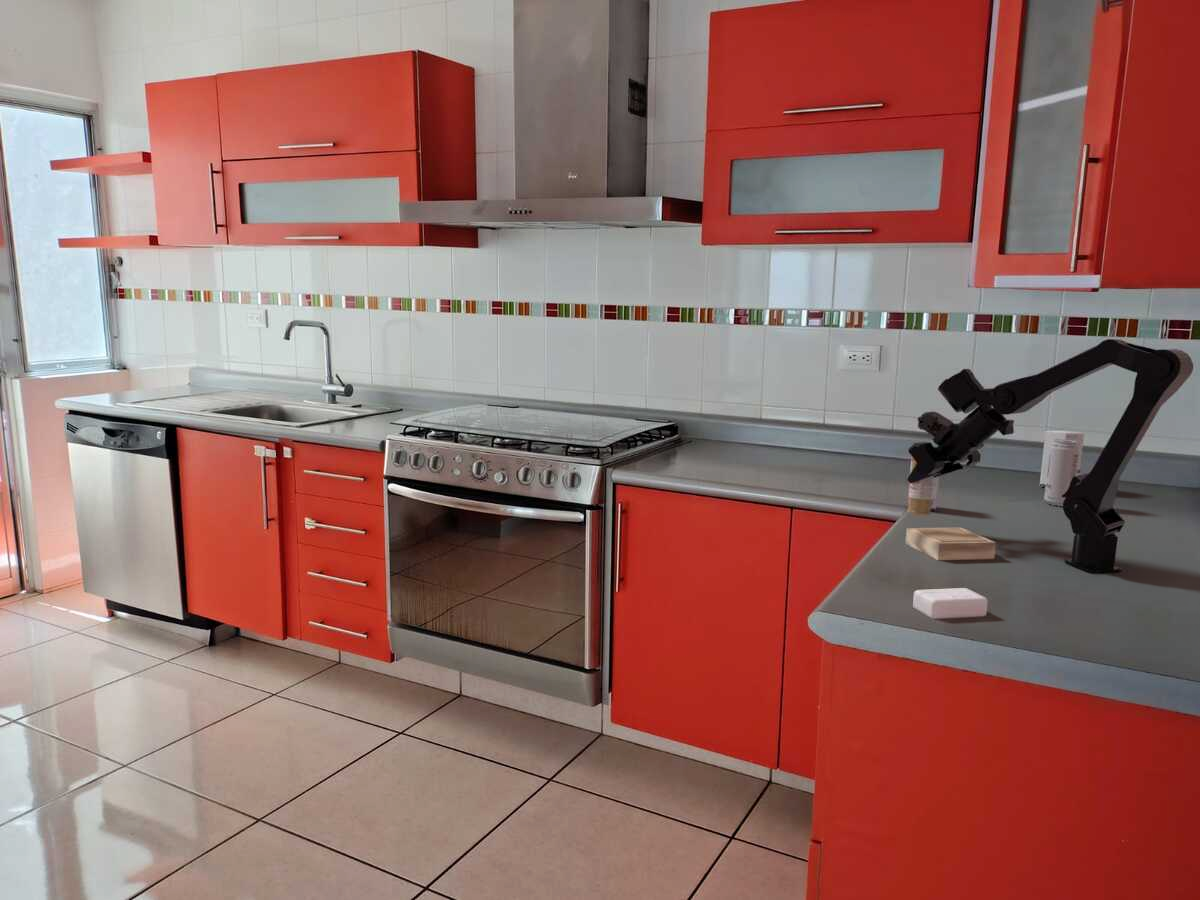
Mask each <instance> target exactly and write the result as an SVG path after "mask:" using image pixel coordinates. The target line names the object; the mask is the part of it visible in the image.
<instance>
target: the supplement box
mask: <svg viewBox="0 0 1200 900" xmlns="http://www.w3.org/2000/svg"><path fill="white" fill-rule="evenodd" d="M911 467H912V456H911V457H910V470H909V475H910V474H911V469H912V468H911ZM939 480H940V476H938V477H935V478H933V490H932V499H931V508H930V511H931V512H937V507H938V506H937V505H938V494H939V493H938V492H939V483H940V481H939ZM909 489H910V483H908V490H909ZM908 504H909V492H908V496H907V505H908Z"/></svg>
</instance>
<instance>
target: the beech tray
mask: <svg viewBox="0 0 1200 900" xmlns="http://www.w3.org/2000/svg"><path fill="white" fill-rule="evenodd" d="M904 544H905V545H907V546H908V547H911V548H913V549H915V550H917V551H918V552H921V553H923V554H925V555H927V556H928V557H931V558H932V557H933V559H935V560H936V561H957V560H958V561H959V560H961V561H962V560H994V559H995V555H996V548H997V547H996V546H997V545H996V544H997V542H996V541H994V540H991V539H988V538H986V537H984V536H981V535H979V534H977V533H974V532H972V531H969V530H967V529H965V528H963V527H960V526H959V527H957V526H956V527H906V533H905V543H904Z"/></svg>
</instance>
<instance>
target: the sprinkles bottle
mask: <svg viewBox="0 0 1200 900" xmlns="http://www.w3.org/2000/svg"><path fill="white" fill-rule="evenodd" d="M911 457H912V456H911ZM916 463H917V462H916V461H915V460H914V458H913V457H912V467H911V466H910V468H912V469H911V472H912V470H913V469H914V467H915V465H916ZM933 478H934V476H932V477H929V478H926V479H923V480H920V481H917V482H914V483H910V489H909V488H908V493H909V504H908V503H907V506H908V507H907V510H906V511H907V513H908V514H910V515H914V516H930V515H931V514H932V511H930V508H931V499H932V490H933Z"/></svg>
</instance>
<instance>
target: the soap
mask: <svg viewBox="0 0 1200 900" xmlns="http://www.w3.org/2000/svg"><path fill="white" fill-rule="evenodd" d="M912 601H913V602H912V607H913V609H915V610H917V611H918V612H921V614H924V615H925V616H927V617H929V618H930V619H934V620H941V619H942V620H943V619H956V618H957V619H958V618H977V617H978V618H979V617H986V615H987V613H988V611H987V610H988V603H989V602H988V598H986V597H985V596H983V595H981V594H979V593H977V592H975V591H973V590H970V589H969V588H966V587H957V588H936V589H935V588H934V589H931V588H930V589H917V590H915V591H914V592H913V600H912Z"/></svg>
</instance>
